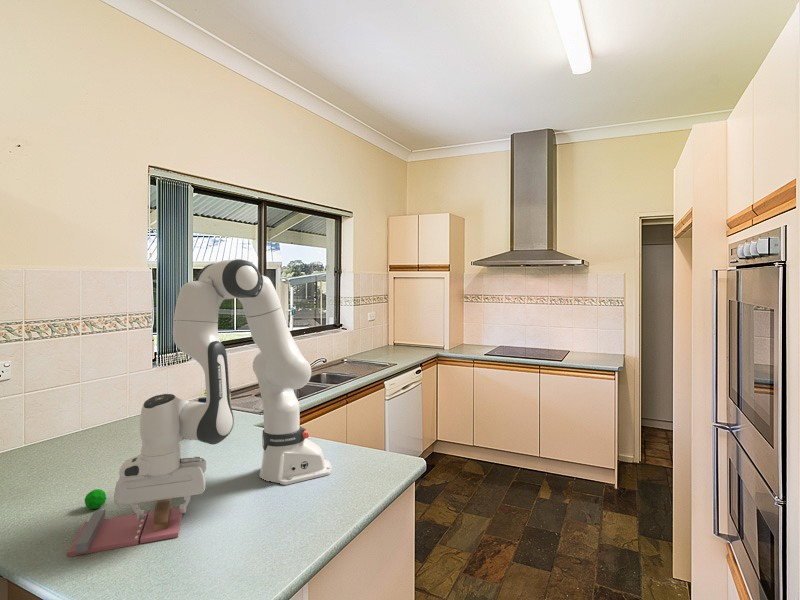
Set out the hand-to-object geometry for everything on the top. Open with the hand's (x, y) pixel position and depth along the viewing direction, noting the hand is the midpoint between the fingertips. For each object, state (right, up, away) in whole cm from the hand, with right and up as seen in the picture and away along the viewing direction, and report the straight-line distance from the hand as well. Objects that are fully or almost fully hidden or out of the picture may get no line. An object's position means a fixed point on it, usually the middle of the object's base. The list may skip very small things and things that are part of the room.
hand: (162, 515), depth 116 cm
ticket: (-11, -3, -4) cm, 12 cm away
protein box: (-16, 0, +74) cm, 76 cm away
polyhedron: (-23, -3, +10) cm, 25 cm away
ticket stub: (0, -3, 0) cm, 3 cm away
